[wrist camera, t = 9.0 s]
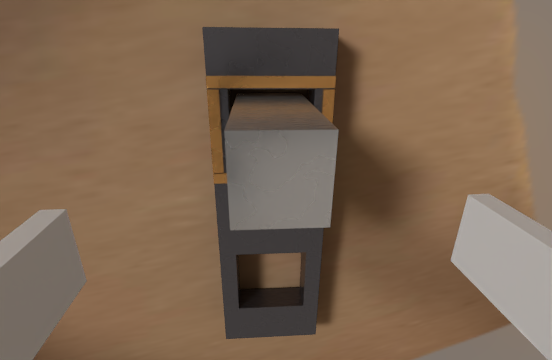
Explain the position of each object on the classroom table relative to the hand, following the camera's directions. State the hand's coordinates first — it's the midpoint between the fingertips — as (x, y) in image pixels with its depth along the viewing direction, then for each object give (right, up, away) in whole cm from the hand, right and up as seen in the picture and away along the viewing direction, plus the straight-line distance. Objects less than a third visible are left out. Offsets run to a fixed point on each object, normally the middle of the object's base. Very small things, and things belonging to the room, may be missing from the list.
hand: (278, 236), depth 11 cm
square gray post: (-1, +6, +15) cm, 16 cm away
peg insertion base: (-1, 0, +18) cm, 18 cm away
